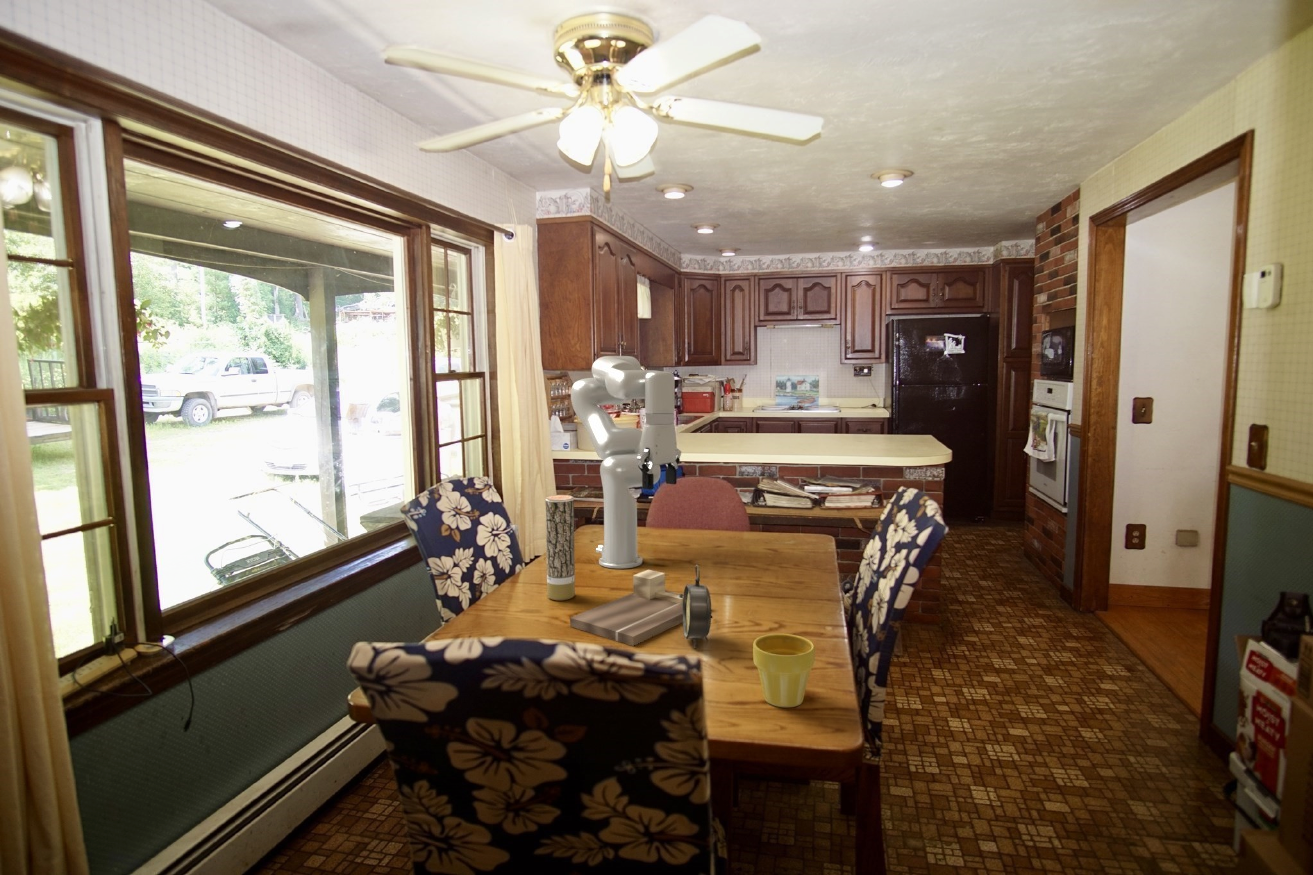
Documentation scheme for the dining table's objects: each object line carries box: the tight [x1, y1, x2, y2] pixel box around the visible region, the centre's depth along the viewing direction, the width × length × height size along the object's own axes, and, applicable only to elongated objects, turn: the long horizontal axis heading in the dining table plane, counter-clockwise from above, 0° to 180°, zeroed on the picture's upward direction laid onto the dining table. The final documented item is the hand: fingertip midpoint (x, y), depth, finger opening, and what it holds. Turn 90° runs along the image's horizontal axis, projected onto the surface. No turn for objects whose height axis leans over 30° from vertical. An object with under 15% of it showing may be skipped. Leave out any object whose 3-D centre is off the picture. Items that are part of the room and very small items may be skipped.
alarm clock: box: [682, 564, 713, 651], centre depth 145 cm, size 11×5×16 cm, turn 5°
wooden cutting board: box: [569, 589, 684, 647], centre depth 160 cm, size 18×28×2 cm, turn 142°
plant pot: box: [752, 633, 816, 708], centre depth 120 cm, size 10×10×10 cm
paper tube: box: [545, 494, 576, 601], centre depth 174 cm, size 7×7×25 cm
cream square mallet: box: [632, 569, 684, 604], centre depth 168 cm, size 13×6×5 cm, turn 52°
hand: (659, 486), depth 181 cm, fingers open, 9 cm apart
